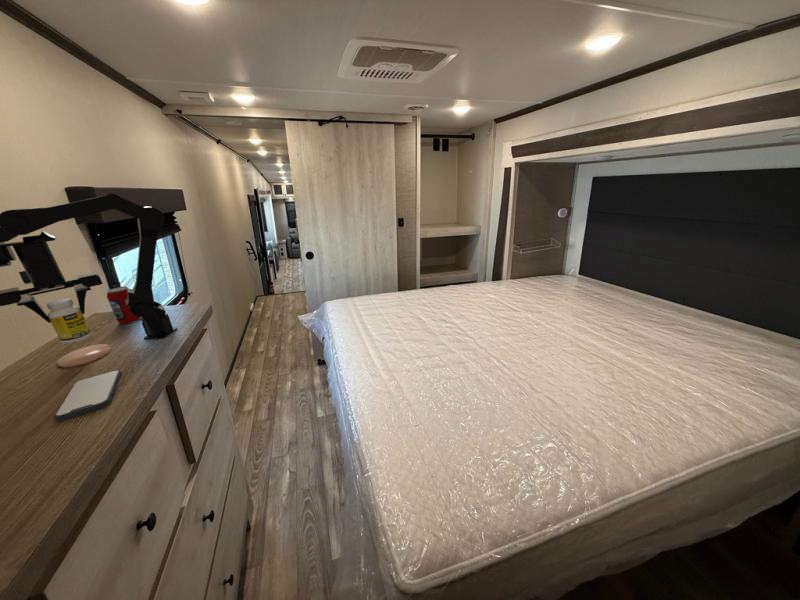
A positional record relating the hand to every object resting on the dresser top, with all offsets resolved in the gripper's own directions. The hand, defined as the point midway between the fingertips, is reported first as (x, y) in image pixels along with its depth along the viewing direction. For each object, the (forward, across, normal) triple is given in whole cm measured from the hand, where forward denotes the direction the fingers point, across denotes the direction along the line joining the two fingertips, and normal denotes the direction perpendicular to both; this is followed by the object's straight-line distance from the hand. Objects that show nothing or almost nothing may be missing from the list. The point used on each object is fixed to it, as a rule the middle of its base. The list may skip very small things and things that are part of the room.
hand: (67, 317), depth 84 cm
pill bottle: (+6, 0, 0) cm, 6 cm away
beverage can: (+12, -14, -21) cm, 28 cm away
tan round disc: (+12, 0, 0) cm, 12 cm away
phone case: (+13, +2, +26) cm, 29 cm away
